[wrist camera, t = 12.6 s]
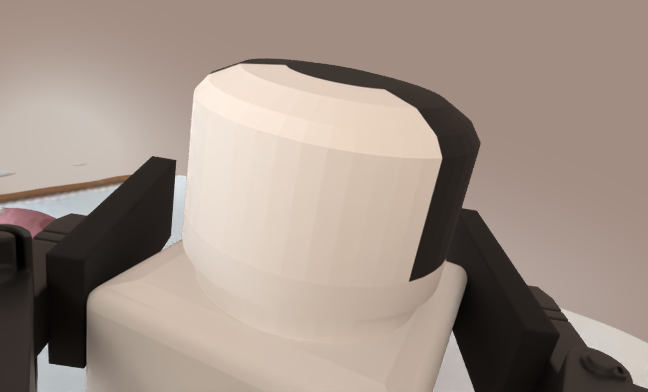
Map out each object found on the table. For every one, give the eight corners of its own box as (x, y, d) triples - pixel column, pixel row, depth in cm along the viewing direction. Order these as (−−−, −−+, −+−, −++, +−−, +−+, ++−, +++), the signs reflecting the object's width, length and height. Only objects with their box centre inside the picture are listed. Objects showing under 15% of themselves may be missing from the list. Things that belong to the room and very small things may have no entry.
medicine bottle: (231, 366, 19) (275, 39, 15) (412, 449, 17) (526, 96, 13) (79, 527, 13) (76, 43, 9) (335, 691, 11) (508, 156, 6)
